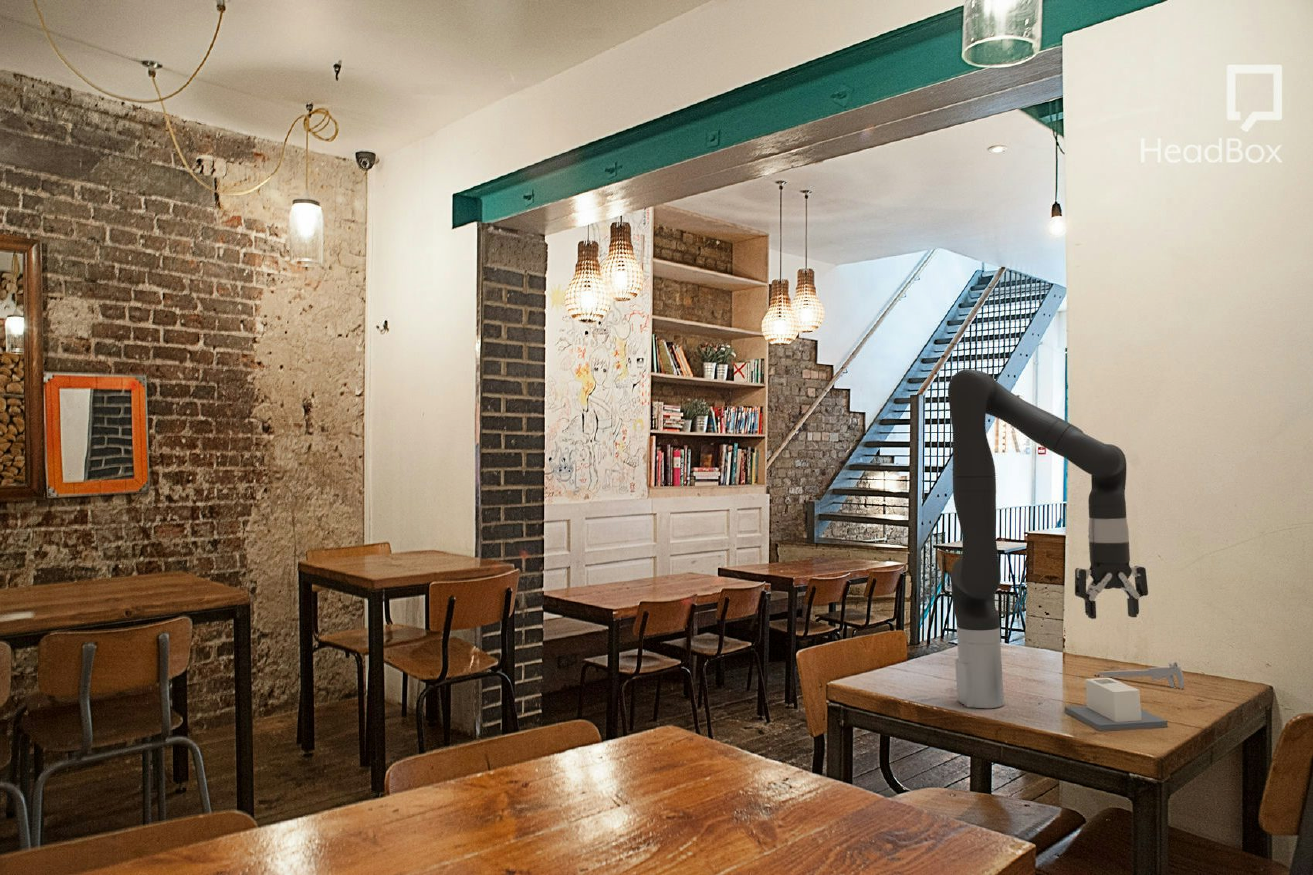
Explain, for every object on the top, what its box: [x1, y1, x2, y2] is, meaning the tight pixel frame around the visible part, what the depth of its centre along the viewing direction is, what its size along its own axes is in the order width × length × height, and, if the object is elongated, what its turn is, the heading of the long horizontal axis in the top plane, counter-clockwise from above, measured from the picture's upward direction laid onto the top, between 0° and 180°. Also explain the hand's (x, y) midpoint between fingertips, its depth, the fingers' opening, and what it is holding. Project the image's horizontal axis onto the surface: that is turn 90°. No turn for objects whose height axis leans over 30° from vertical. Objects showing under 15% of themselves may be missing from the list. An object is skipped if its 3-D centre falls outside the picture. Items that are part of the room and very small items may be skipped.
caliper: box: [1096, 661, 1185, 690], centre depth 216 cm, size 20×1×6 cm, turn 39°
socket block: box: [1084, 677, 1142, 722], centre depth 188 cm, size 5×11×6 cm, turn 3°
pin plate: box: [1064, 704, 1168, 732], centre depth 188 cm, size 14×14×6 cm
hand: (1112, 617), depth 189 cm, fingers open, 8 cm apart
